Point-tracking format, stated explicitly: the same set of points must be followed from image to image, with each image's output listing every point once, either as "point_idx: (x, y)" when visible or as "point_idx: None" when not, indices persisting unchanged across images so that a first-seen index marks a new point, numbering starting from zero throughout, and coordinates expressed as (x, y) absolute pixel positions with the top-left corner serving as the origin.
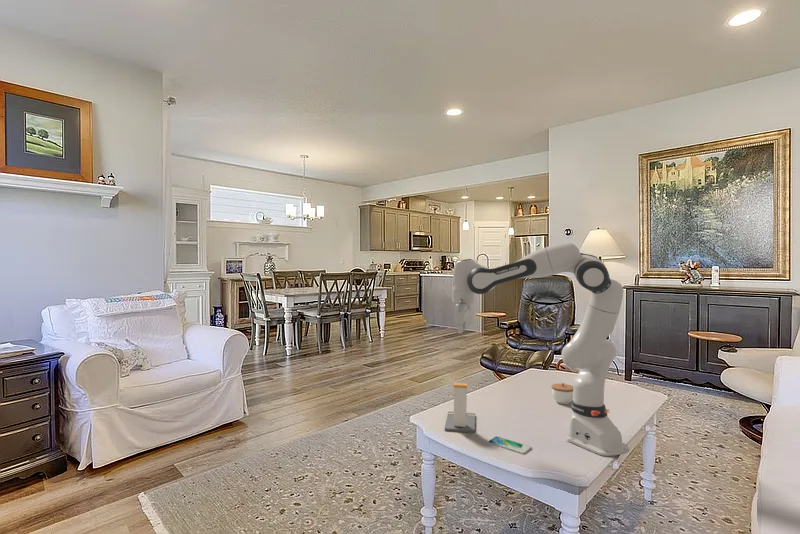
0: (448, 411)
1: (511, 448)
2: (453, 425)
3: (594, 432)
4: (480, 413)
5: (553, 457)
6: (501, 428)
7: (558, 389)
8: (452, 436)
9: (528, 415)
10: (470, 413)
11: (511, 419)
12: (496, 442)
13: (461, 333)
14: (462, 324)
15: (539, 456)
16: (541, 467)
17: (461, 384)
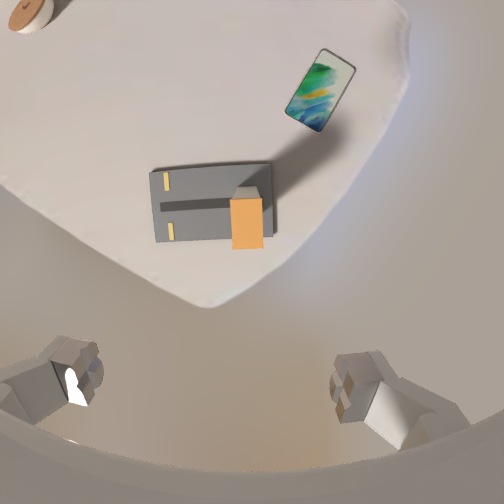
0: (156, 241)
1: (341, 87)
2: None
3: None
4: (132, 161)
5: (350, 23)
6: (222, 101)
7: (37, 10)
8: (302, 214)
9: (121, 53)
10: (153, 184)
11: (155, 83)
12: (319, 114)
13: (376, 352)
14: (461, 414)
15: (354, 44)
16: (395, 54)
17: (249, 220)
